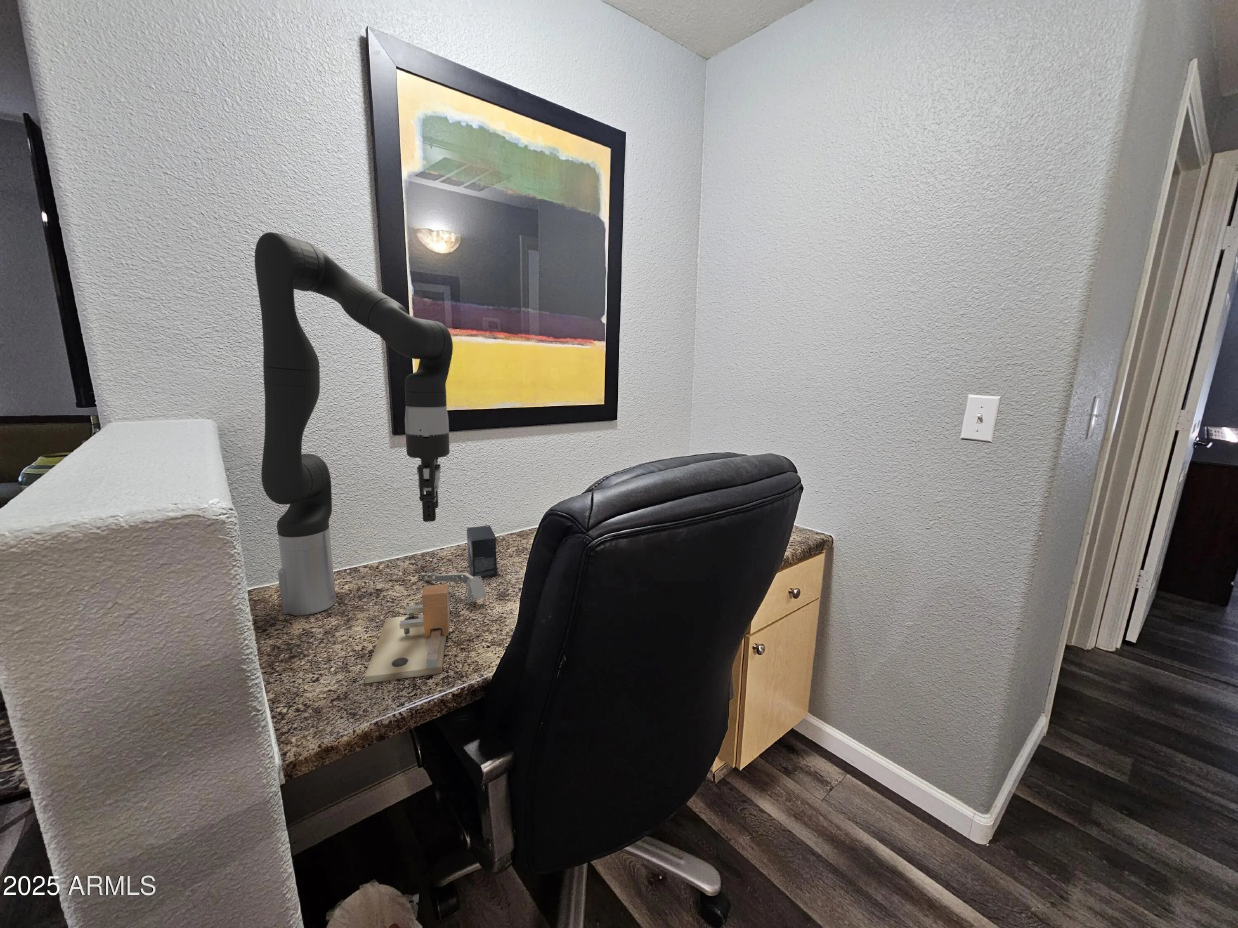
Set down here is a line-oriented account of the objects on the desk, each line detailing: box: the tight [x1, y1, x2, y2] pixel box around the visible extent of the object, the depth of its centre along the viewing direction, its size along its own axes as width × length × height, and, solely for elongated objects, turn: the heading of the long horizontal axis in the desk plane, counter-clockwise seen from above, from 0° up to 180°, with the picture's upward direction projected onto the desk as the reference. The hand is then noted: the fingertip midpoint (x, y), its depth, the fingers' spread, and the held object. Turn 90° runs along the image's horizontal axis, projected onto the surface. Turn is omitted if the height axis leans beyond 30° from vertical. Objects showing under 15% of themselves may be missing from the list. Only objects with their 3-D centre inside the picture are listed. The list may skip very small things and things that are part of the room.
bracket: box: [420, 571, 487, 604], centre depth 114 cm, size 3×21×10 cm, turn 53°
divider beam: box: [405, 604, 442, 669], centre depth 92 cm, size 8×20×3 cm, turn 16°
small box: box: [466, 524, 499, 579], centre depth 126 cm, size 11×6×10 cm, turn 23°
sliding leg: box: [399, 583, 451, 637], centre depth 93 cm, size 9×4×9 cm, turn 106°
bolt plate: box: [363, 613, 447, 684], centre depth 92 cm, size 12×20×1 cm, turn 16°
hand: (431, 514), depth 93 cm, fingers open, 8 cm apart
